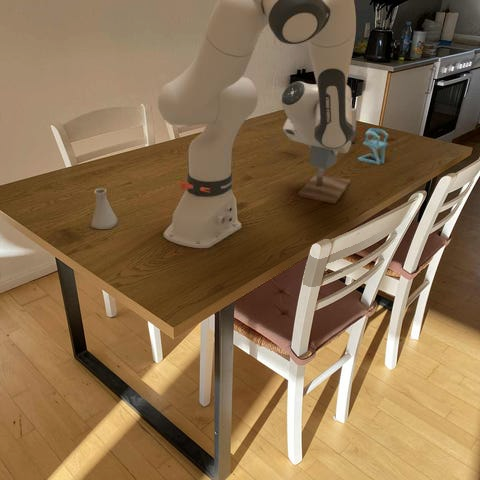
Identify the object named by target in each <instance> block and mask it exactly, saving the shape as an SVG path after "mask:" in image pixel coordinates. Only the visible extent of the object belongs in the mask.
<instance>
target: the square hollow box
mask: <svg viewBox="0 0 480 480" xmlns="http://www.w3.org/2000/svg"><path fill="white" fill-rule="evenodd" d="M337 157H338V154H337V155H334V154H332V153H331V150H329V149H325V148H321V147H317V146H313V145H311V148H310V156H309V165H311V166H315V167H317V168H318V167H322V168H324V170H325V169H328V168H330V167H333V166H334V165H336V164H337Z"/></svg>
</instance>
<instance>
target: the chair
mask: <svg viewBox="0 0 480 480" xmlns="http://www.w3.org/2000/svg"><path fill="white" fill-rule="evenodd" d="M378 133H381V134H383V135H384V136H385V137H384V138H383V141H381V136H379V135H378ZM369 136H371V137H372V136H373V137H372V138H371V139H369ZM388 137H389V133H387V132H386V131H385V130H384V129H381V128H374V127H371V128H368V130H367V131H366V132H365V141H363V142H362V145H364V146H367V147H369V149H371V151H372V153H367V154H365V155H362V156H360V157H357V161H360V162H365V163H370V164H375V165H381V164H385V152H386V147H387V146H388V145H389V143H388V142H387V138H388ZM378 149H380V157H379V154H378ZM368 157H371V158H372V159H369V158H368Z"/></svg>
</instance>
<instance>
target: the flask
mask: <svg viewBox="0 0 480 480" xmlns="http://www.w3.org/2000/svg"><path fill="white" fill-rule="evenodd" d="M107 192H108V191H107V189H105V188H96V189H94V191H93V193H94V195H95V206H94V207H95V208H94V212H93V216H92V219H91V224H90V227H91V228H94V229H97V230H110V229H112V228H113V227H115V226H117V225H118V221H119V220H118V217H117V216H116V214H115V213H114V211H113V208H112V207H111V205H110V203H109V201H108V198H107Z"/></svg>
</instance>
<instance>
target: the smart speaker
mask: <svg viewBox="0 0 480 480" xmlns="http://www.w3.org/2000/svg"><path fill="white" fill-rule="evenodd" d="M352 126H353V133H354V135H353V137H352V138H351V140H350V141H351V143H353V142H354V140H355V137H356V131H357V130H356V129H357V108H355V107H354V108H353V107H352Z"/></svg>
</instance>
